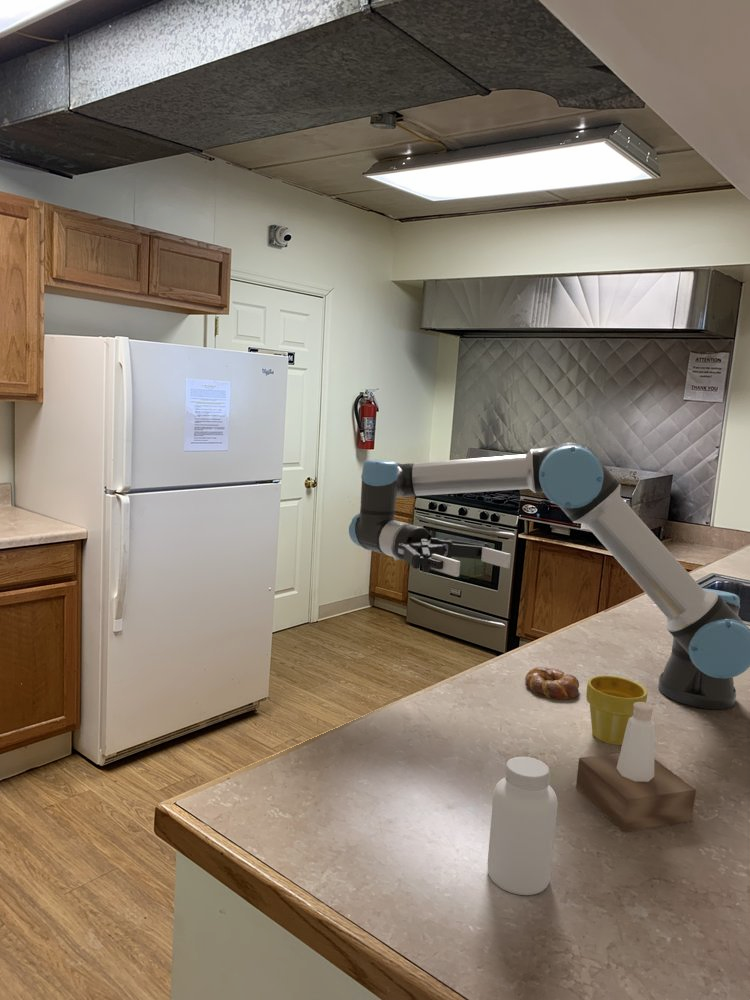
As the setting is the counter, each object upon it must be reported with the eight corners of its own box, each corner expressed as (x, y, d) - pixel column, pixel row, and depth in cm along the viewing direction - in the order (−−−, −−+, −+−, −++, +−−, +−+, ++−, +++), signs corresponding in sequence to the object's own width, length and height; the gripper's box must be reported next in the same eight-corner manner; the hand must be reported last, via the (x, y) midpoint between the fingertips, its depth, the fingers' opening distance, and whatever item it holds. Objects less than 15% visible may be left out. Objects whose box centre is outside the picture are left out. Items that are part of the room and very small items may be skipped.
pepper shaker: (653, 769, 113) (662, 701, 111) (654, 786, 108) (663, 715, 106) (616, 761, 115) (625, 694, 113) (615, 777, 110) (624, 708, 108)
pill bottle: (479, 856, 97) (489, 750, 95) (538, 856, 98) (550, 751, 95) (494, 897, 89) (505, 782, 87) (558, 897, 90) (571, 783, 88)
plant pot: (645, 754, 128) (652, 701, 127) (584, 745, 130) (590, 693, 129) (636, 728, 138) (642, 679, 137) (580, 720, 140) (585, 671, 139)
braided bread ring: (511, 685, 156) (513, 668, 156) (545, 675, 163) (546, 659, 162) (556, 706, 147) (558, 688, 146) (590, 695, 153) (592, 678, 153)
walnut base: (638, 779, 120) (642, 750, 119) (691, 820, 108) (696, 789, 108) (575, 787, 116) (579, 757, 115) (624, 831, 104) (628, 799, 104)
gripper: (448, 554, 158) (526, 577, 142) (357, 566, 142) (433, 594, 126) (451, 520, 157) (530, 539, 140) (359, 528, 141) (436, 551, 125)
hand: (484, 565), depth 133 cm, fingers open, 13 cm apart
